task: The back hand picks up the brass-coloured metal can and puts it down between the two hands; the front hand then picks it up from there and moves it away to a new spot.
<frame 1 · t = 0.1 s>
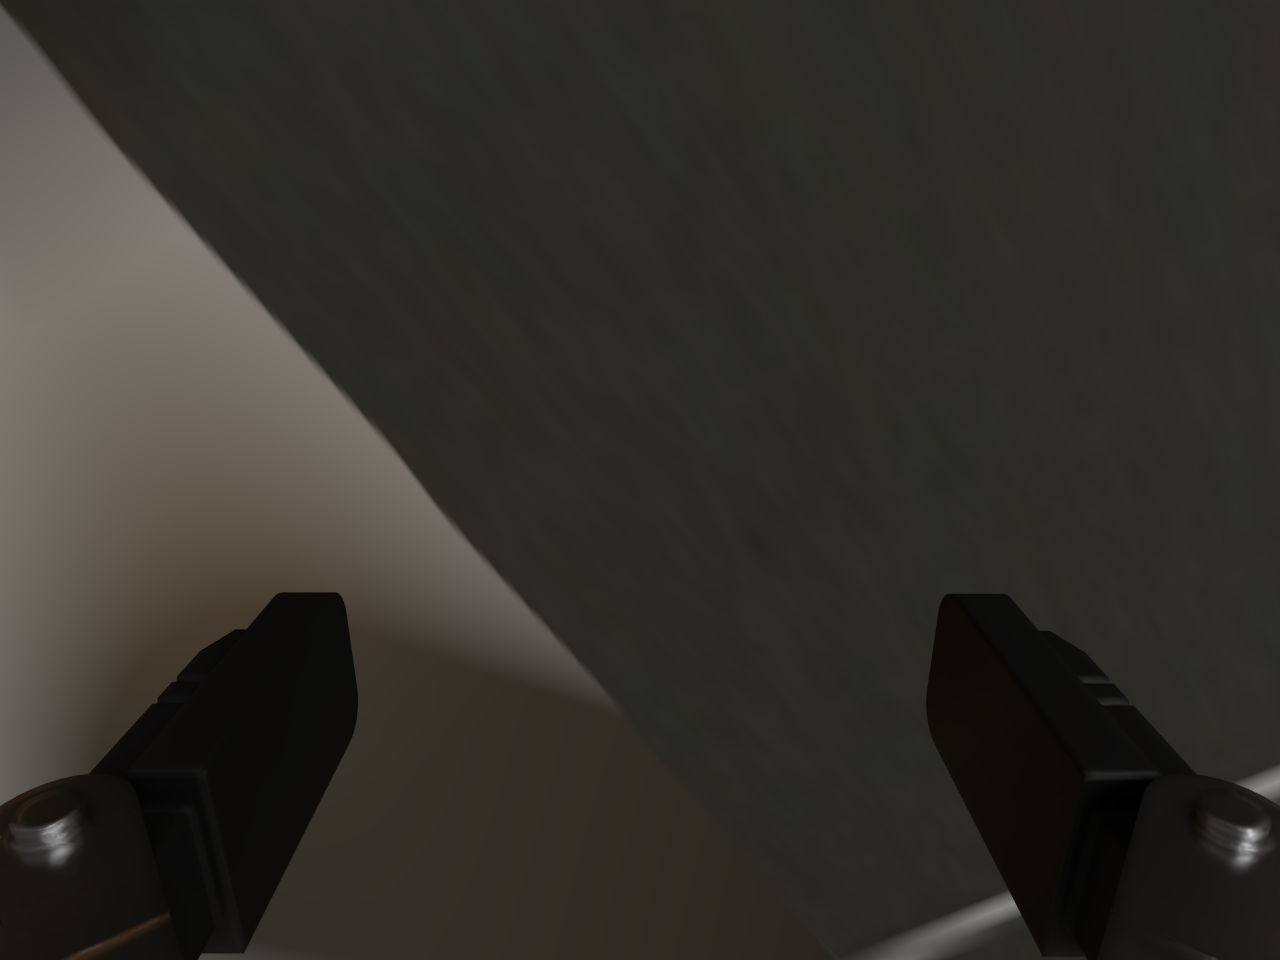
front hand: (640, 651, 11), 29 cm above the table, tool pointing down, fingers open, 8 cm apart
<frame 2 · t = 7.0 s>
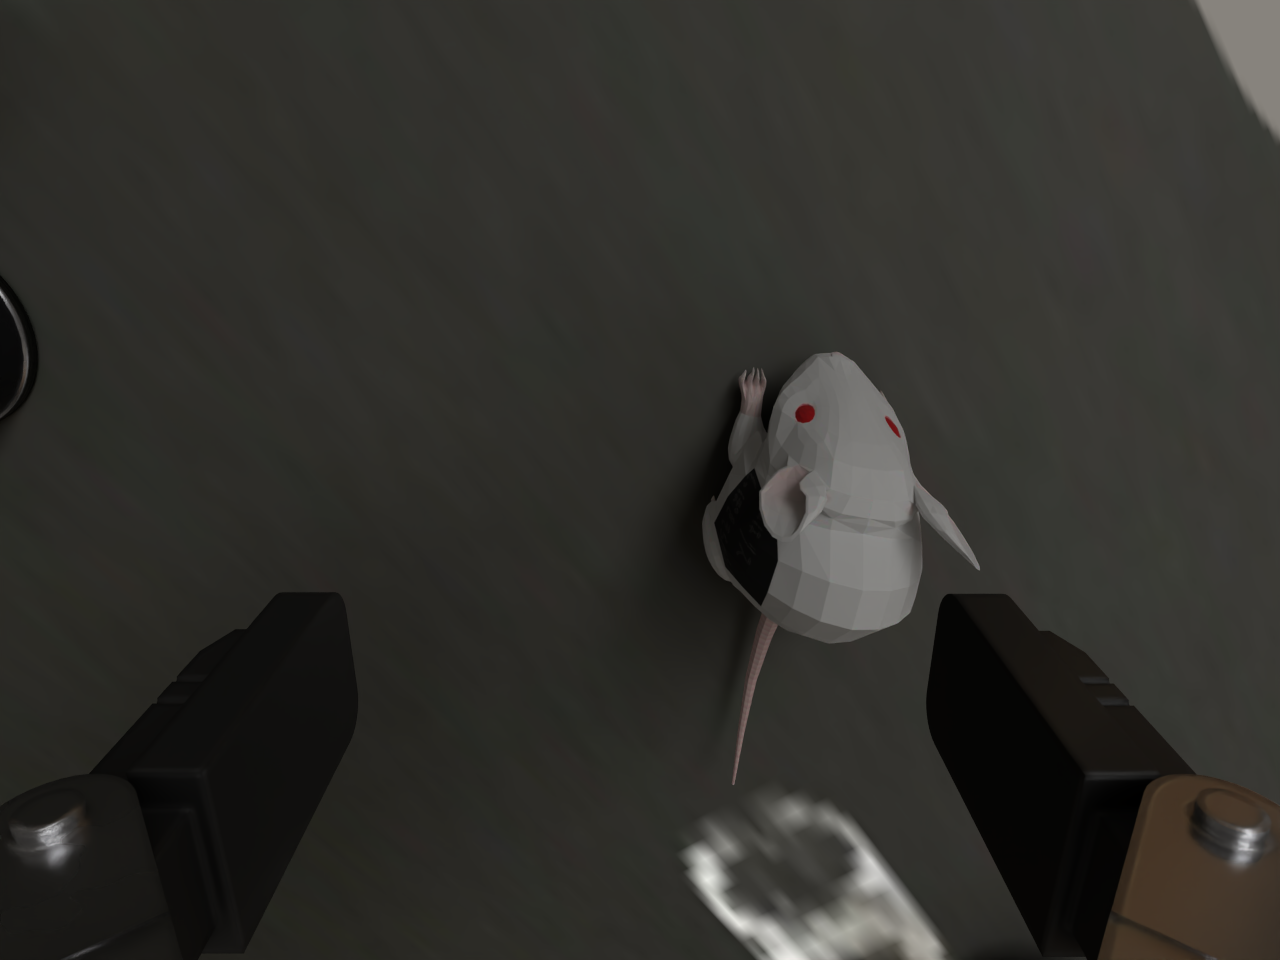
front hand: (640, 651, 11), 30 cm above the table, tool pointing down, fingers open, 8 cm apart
toy: (768, 555, 44), on the table
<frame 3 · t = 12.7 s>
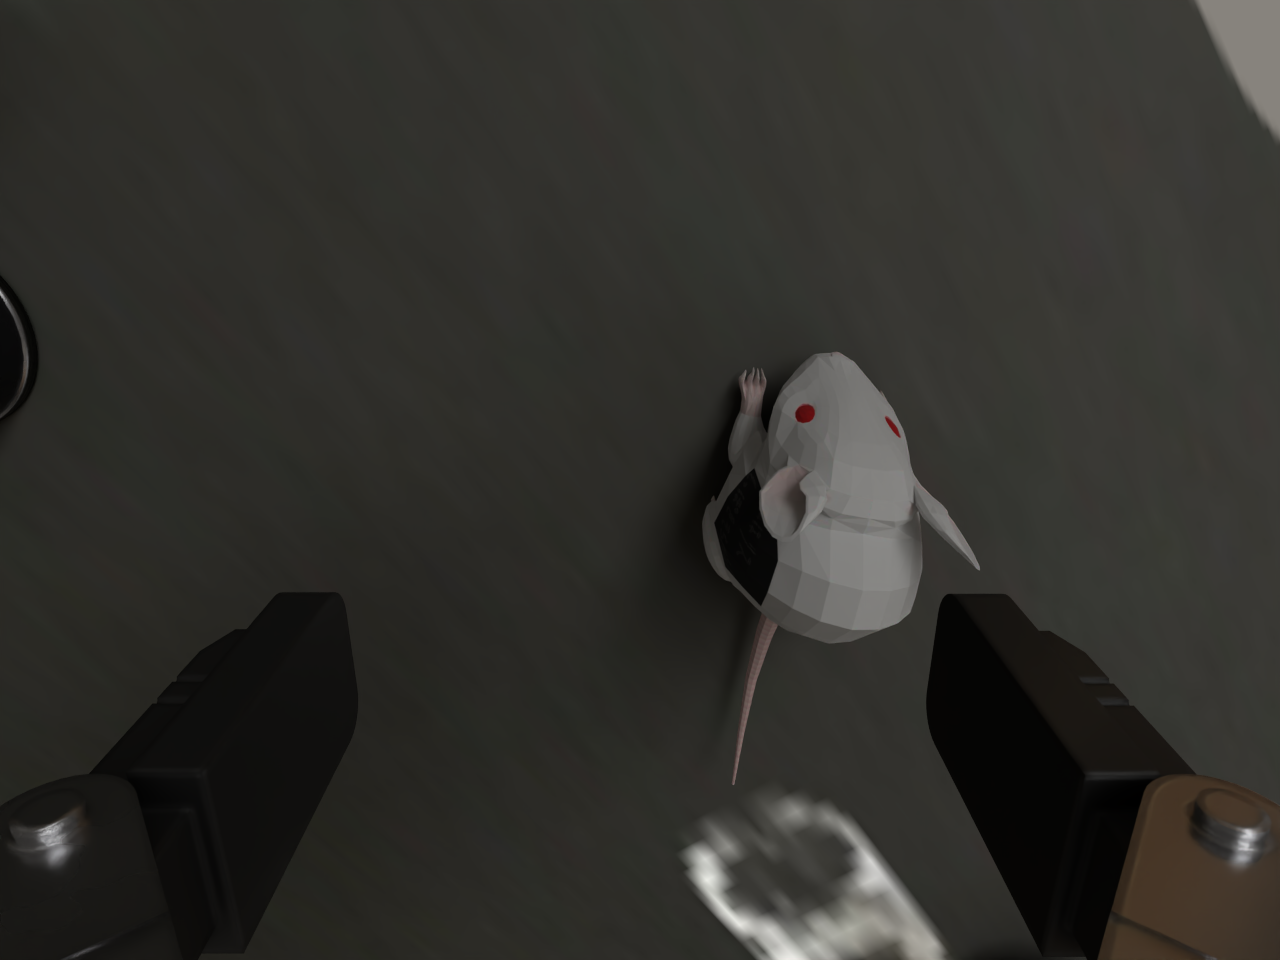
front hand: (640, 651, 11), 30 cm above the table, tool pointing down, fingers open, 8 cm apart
toy: (768, 555, 44), on the table
when the back hand's fingers open (8 cm above the table, at t = 18.4 s): can drops 2 cm, on the table.
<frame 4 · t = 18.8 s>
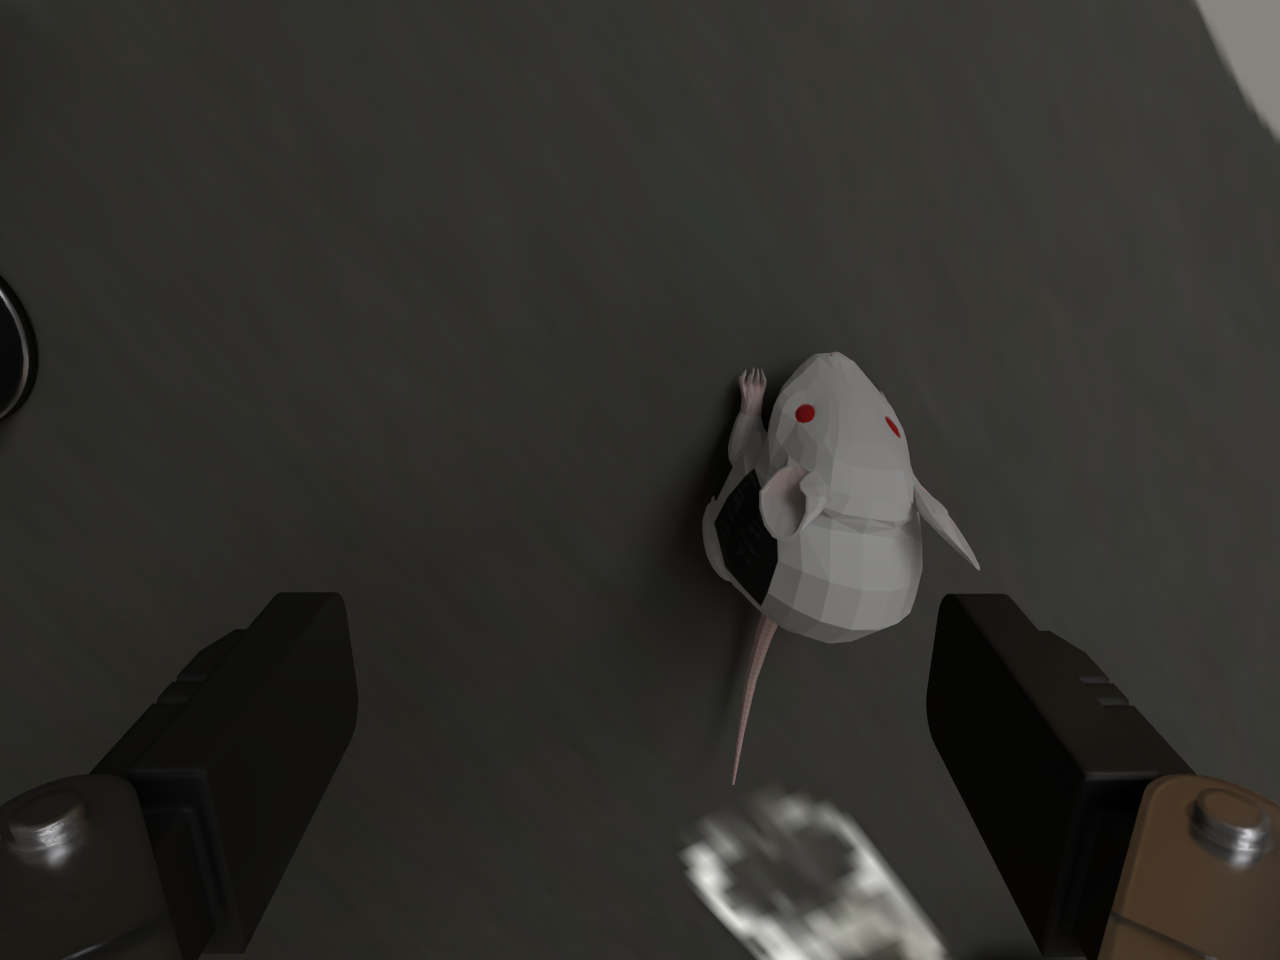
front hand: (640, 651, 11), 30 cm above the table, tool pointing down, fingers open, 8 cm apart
toy: (768, 555, 44), on the table
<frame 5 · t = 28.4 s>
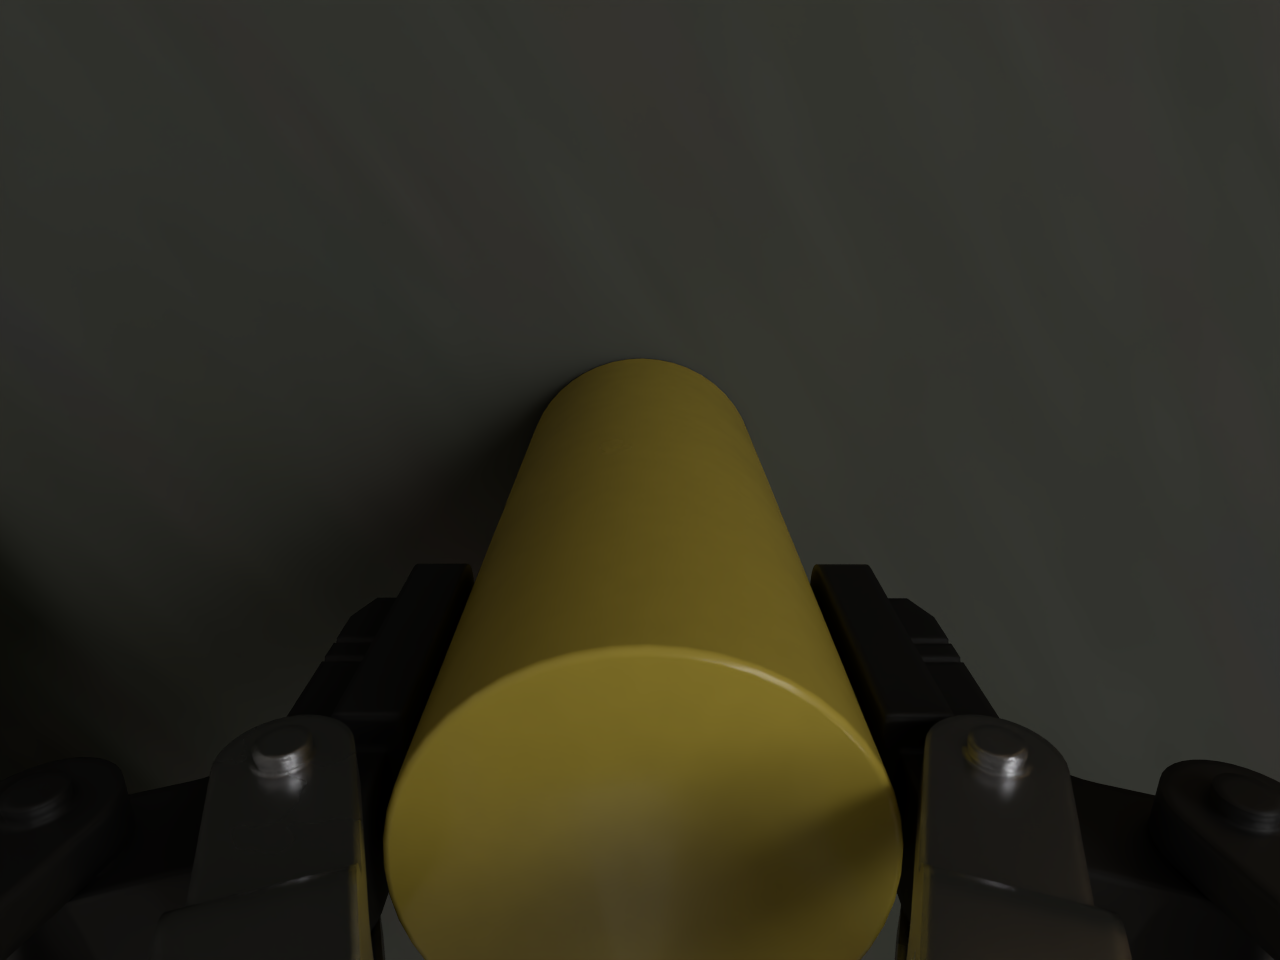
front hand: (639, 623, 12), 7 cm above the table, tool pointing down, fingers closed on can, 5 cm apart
can: (641, 467, 18), on the table, touching front hand
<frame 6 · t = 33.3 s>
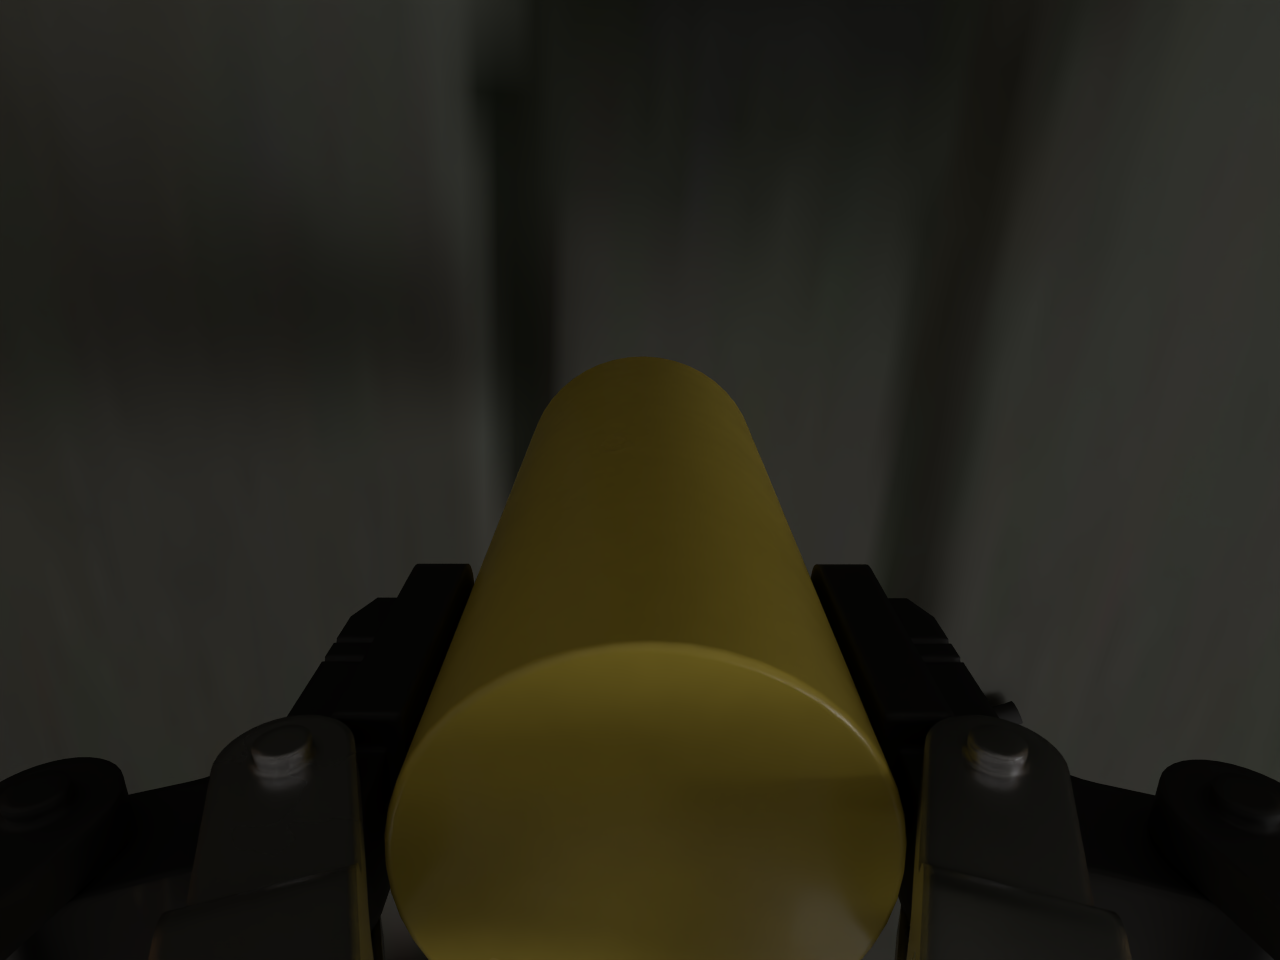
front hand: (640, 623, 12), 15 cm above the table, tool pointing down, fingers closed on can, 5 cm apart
can: (642, 465, 18), point 8 cm above the table, touching front hand
when the front hand's fingers open (8 cm above the table, at t = 38.5 s): can drops 2 cm, on the table.
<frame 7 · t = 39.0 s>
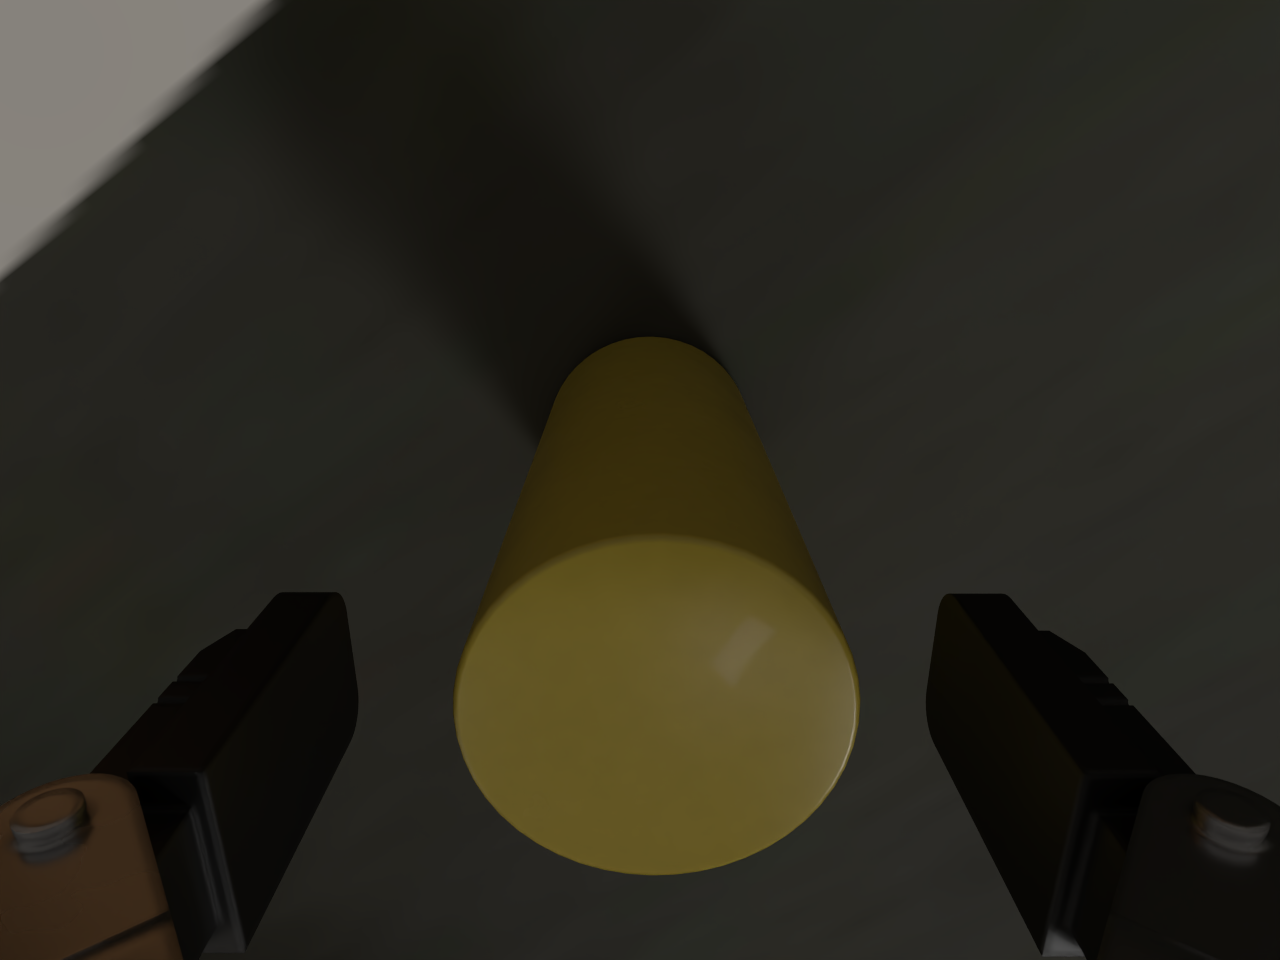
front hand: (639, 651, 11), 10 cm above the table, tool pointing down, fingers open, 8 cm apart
can: (648, 435, 20), on the table
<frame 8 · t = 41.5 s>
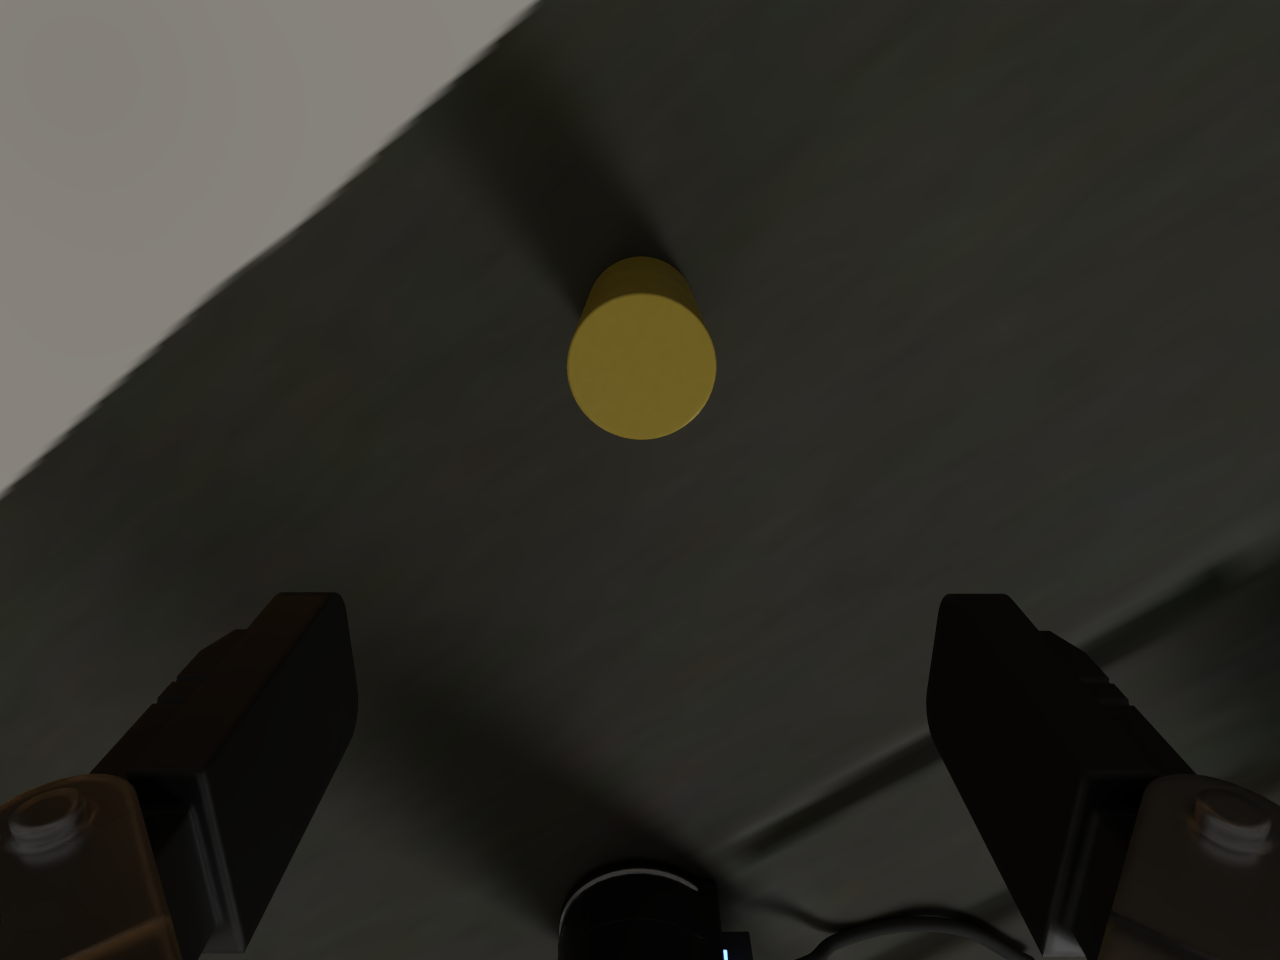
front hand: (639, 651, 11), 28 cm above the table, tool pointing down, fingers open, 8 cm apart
can: (641, 311, 37), on the table
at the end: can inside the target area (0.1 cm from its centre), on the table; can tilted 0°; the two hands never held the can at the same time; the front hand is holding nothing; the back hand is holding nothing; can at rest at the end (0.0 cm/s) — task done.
